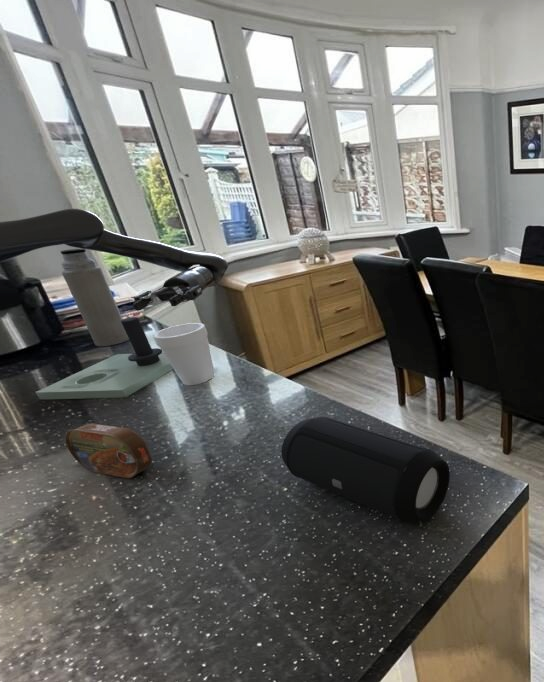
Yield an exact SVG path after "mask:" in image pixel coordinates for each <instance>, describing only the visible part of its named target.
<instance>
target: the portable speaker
mask: <svg viewBox="0 0 544 682" xmlns="http://www.w3.org/2000/svg"><path fill="white" fill-rule="evenodd" d="M280 451H281V459H282V461H283V463H284V465H285V466H286V468H287V469H288V471H289V472H290V474H292V475H293V476H294V477H296V478H298V479H302V480H304V481H306V482H309V483H311V484H313V485H316V486H319V487H321V488H323V489H326V490H328V491H330V492H333V493H335V494H337V495H339V496H342V497H345V498H347V499H349V500H351V501H353V502H357V503H359V504H361V505H362V506H363V505H364V506H366V507H368V508H371V509H373V510H375V511H377V512H380V513H381V514H382V513H383V514H385V515H387V516H390V517H392V518H394V519H396V520H399V521H400V522H402V523H415V522H416V523H418V522H420V523H421V522H425V521H428V520H430V519H431V518H432V517H434V516H435V514H436V513H437V512H438V511H439V509H440V507H441V506H442V504H443V502H444V500H445V498H446V496H447V493H448V490H449V489H448V488H449V485H450V480H451V478H450V477H451V473H450V472H451V471H450V467H449V465H448V463H447V462H446V460H445V459H443V458H442V457H441V456H440V455H439V454H438V453H436V452H435V451H434V450H432V449H430V448H427V447H424V446H421V445H418V444H413V443H411V442H408V441H405V440H401V439H398V438H395V437H393V436H389V435H386V434H383V433H380V432H376V431H373V430H371V429H367V428H363V427H361V426H359V425H358V426H357V425H354V424H351V423H348V422H345V421H342V420H339V419H336V418H332V417H326V416H317V417H311V418H306V419H303V420H301V421H298V423H296V424H295V425H294V426H293V427H292V428H290V429H289V431H288V433H287V434H286V436H285V437H284V440H283V441H282V445H281V450H280Z"/></svg>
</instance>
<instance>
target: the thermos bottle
mask: <svg viewBox="0 0 544 682" xmlns="http://www.w3.org/2000/svg"><path fill="white" fill-rule="evenodd" d="M59 252H60V254H61V255H62V258H63V262H61V268H62V269H63V270H62V271H61V274H62V276H63V279H64V281H65V283H66V284H67V287H68V289H69V292H70V294H71V295H72V298H73V300H74V302H75V305H76V306H77V309H78V311H79V313H80V315H81V317H82V319H83V322H84V324H85V326H86V328H87V331H88V332H89V336H91V339H92V342H93V343H94V345H95V347H109V346H114V345H118V344H122V343H124V342H127V341H130V340H129V338H128V336H127V334H126V332H125V329H124V327H123V325H122V323H121V320H123V319H124V318H123V316H122V313H121V312H120V309H119V306H118V305H117V303H116V301H115V298H114V296H113V292H112V290H111V288H110V285H109V283H108V281H107V279H106V277H105V274H104V272H103V269H102V268H101V266H98V265H97V264H96V261H95V260H94V259H92V258H90V257H89V255H88V253H86V252H87V249H83V248H71V249H70V248H69V249H64V250H60V251H59Z"/></svg>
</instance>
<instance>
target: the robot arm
mask: <svg viewBox="0 0 544 682" xmlns="http://www.w3.org/2000/svg"><path fill="white" fill-rule="evenodd" d="M104 225H105V224H104V223H103V221H102V219H101V218H100V217H99V216H98V215H97V214H95V213H93V212H91V211H89V210H84V209H81V208H65V209H59V210H56V211H52V212H48V213H44V214H40V215H36V216H32V217H28V218H21V219H17V220H15V219H14V220H7V221H6V220H5V221H0V263H2V262H5V261H8V260H10V259H13V258H16V257H19V256H22V255H24V254H27V253H29V252H32V251H35V250H39V249H43V248H48V247H53V246H60V245H61V246H62V245H65V246H68V247H72V248H76V249H85V250H89V251H95V252H102V253H107V254H112V255H117V256H120V257H125V258H130V259H134V260H137V261H141V262H145V263H148V264H152V265H155V266H159V267H162V268H166V269H169V270H172V271H175V272H179V273H177V274H175V275H173V276H171V277H169V278H168V279H166V280H165V281H164V282H163V285H162V287H161V288H159V289H158V290H154V291H152V290H146V291H145V292H143V293H140V294H139V295H137V296H135V297H133V300H134V301H135V302H133V303H132V306H133V308H134V309H135V311H137V312H138V311H139V312H140V311H142V310H144V309H145V308H147V307H149V306H152V305H156V306H158V305H162V304H164V303H170V305H171V307H177V306H178V305H180V304H182V303H187V302H189V301H195V300H196V299H197V298H199V297H200V296H201V295H202V294H203V291H204V290H206V289H207V288H211V287H215V286H218V284H219V283H220V282H221V281H222V279H223V278H224V276H225V273H226V272H227V270H228V268H229V264H228V261H227V260H226V259H225V258H223V257H222V256H220V255H217V254H213V253H207V252H199V251H198V252H197V251H190V250H185V249H181V248H180V247H179V248H178V247H176V246H172V245H169V244H166V243H162V242H157V241H153V240H149V239H143V238H135V237H131V236H126V235H124V234H123V235H122V234H119V233H115V232H113V231H110V230H107V229H105V227H104ZM157 299H159V301H158V300H157Z"/></svg>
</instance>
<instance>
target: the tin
mask: <svg viewBox="0 0 544 682" xmlns="http://www.w3.org/2000/svg"><path fill="white" fill-rule="evenodd" d="M65 444H66V447H67V450H68V451H69V453H70V455H71V456H72V458H74V459H75V461H76V462H77V463H78V464H79V465H81V467H83V468H84V469H86V470H88V471H90V472H92V473H95V474H101V475H107V476H113V477H117V478H122V479H132V478H134V477H136V476H137V475H138V474H140V473H142V472H144V471H145V470H147V469H148V468H149V467H150V466H151V465H152V461H153V459H152V456H151V453H150V450H149V448H148V446H147V443H146V441H145V440H144V439H143V438H142V436H140V435H139V434H138V433H137V432H136V431H134V430H132V429H130V428H128V427H123V426H114V425H107V424H99V423H93V422H92V423H86V424H83V425H81V426H79V427H77V428H74V429H70V430H69V431H67V433H66V434H65Z"/></svg>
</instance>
